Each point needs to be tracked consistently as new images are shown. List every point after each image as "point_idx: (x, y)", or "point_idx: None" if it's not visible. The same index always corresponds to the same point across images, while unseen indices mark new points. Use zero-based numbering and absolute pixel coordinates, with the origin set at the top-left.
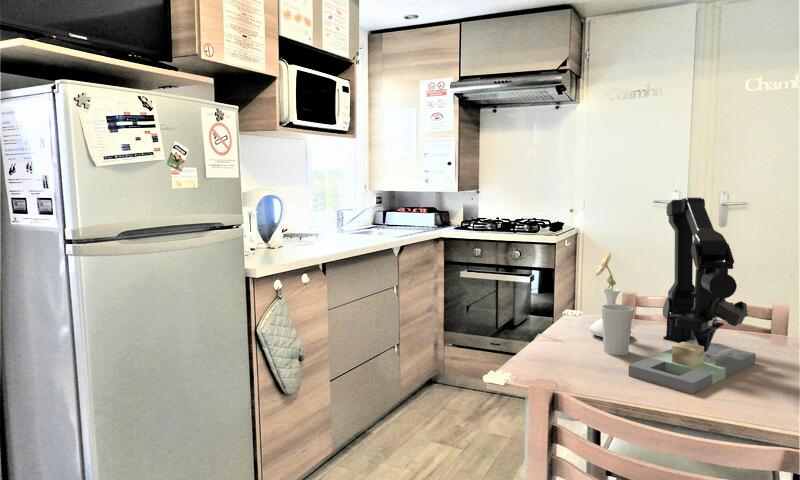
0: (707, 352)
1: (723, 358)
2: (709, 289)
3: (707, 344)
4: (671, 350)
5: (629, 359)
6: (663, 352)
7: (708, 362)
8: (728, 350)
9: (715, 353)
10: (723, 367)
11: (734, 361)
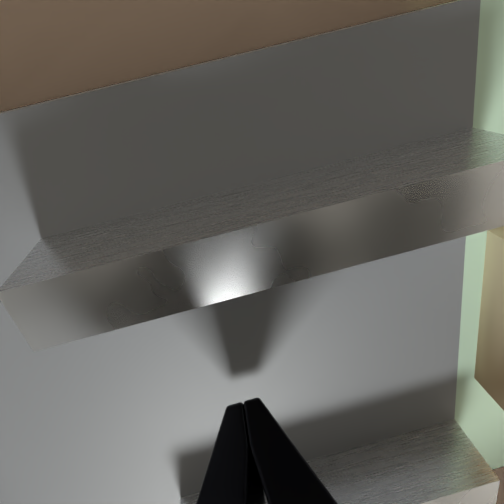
0: (165, 414)
1: (287, 188)
2: None
3: (280, 460)
4: None
5: (499, 479)
6: None
7: None
8: (113, 279)
9: (406, 251)
10: (492, 16)
11: (154, 116)
